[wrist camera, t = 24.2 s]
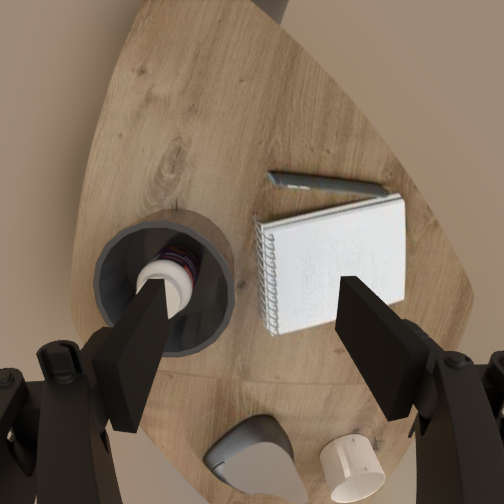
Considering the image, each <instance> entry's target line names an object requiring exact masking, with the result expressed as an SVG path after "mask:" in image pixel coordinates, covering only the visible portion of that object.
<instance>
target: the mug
mask: <svg viewBox="0 0 504 504" xmlns="http://www.w3.org/2000/svg"><path fill="white" fill-rule="evenodd" d="M320 461H321V465H322V468H323V471H324V475H325V478H326V482H327V485H328V488H329V492H330V495H331V498H332V500H333V501H335V502H339V503H348V502H354V501H358V500H361V499H363V498H366V497H368V496H370V495H371V494H373V493H375V492H376V491H377V490H379V489H380V488H381V487H382V485H383V484H384V483H385V480H386V477H385V474H384V472H383V470H382V468H381V466H380V464H379V461H378V459H377V457H376V455H375V453H374V451H373V449H372V447H371V444H370V442H369V440H368V439H367V438H366V437H365V436H363V435H360V434H349V435H345V436H341V437H339V438H336V439H334V440H333V441H331V442H330V443H328V444H327V445H326V446H325V447H324V448H323V450H322V452H321V454H320Z"/></svg>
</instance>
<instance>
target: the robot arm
mask: <svg viewBox="0 0 504 504" xmlns="http://www.w3.org/2000/svg"><path fill="white" fill-rule="evenodd" d="M335 331H336V332H337V334H338V336H339V337H340V339H341V341H342V342H343V344H344V346H345V347H346V349H347V351H348V353H349V354H350V356H351V358H352V359H353V361H354V363H355V365H356V366H357V368H358V370H359V371H360V373H361V375H362V377H363V378H364V380H365V382H366V383H367V385H368V387H369V389H370V390H371V392H372V394H373V396H374V397H375V399H376V401H377V403H378V404H379V406H380V408H381V410H382V412H383V413H384V415H385V417H386V419H387V420H388V422H389V421H393V420H398V419H402V418H406V417H408V415H409V413H410V410H411V408H412V405H413V404H414V406H415V407H416V409H417V410H418V413H417V415H416V418H415V420H414V423H413V425H412V427H411V430H410V432H409V435H408V438H411V437H412V434H413V432H414V431H415V436H416V437H415V438H416V463H417V493H416V494H417V495H416V504H504V415H503V414H502V410H503V408H504V351H497V352H494V353H493V354H492V355H491V358H490V361H489V363H488V364H485V365H474V363H473V361H472V360H471V358H469V357H468V356H466V355H465V354H462V353H459V352H455V351H444V350H443V349H442V348H441V347H440V346H439V345H438V344H437V343H436V342H435V341H434V340H433V339H431V338H430V337H429V336H428V335H427V334H426V333H425V332H423V330H422V329H421V328H420V327H419V326H418V325H417V324H415V323H413V322H411V321H409V320H407V319H403V320H402V319H401V318H400V317H399V316H398V315H397V314H396V313H395V312H393V311H392V310H391V309H390V308H389V307H388V306H387V305H386V304H385V303H384V302H383V301H382V300H381V299H380V298H379V297H378V296H377V295H376V294H375V293H374V292H373V291H372V290H371V289H370V288H368V287H367V286H366V285H365V284H364V283H363V282H362V281H361V280H360V279H359V278H358V277H357V276H341V280H340V291H339V300H338V309H337V317H336V326H335ZM169 334H170V330H169V321H168V311H167V301H166V291H165V279H147V281H146V282H145V283H144V285H143V286H142V288H141V289H140V290H139V292H138V293H137V294H136V296H135V297H134V299H133V300H132V301H131V303H130V304H129V306H128V307H127V308H126V310H125V311H124V313H123V314H122V315H121V317H120V318H119V320H118V321H117V323H116V324H115V326H114V327H102V328H101V329H99V330H97V331H96V332H94V333H93V334H92V336H91V337H90V338H89V340H88V342H86V344H85V345H84V348H82V349H81V350H79V347H78V345H77V344H76V343H75V342H72V341H68V340H58V341H54V342H50V343H48V344H46V345H44V346H42V347H41V348H40V349H39V350H38V352H37V353H36V355H37V358H38V360H39V364H40V366H41V370H42V372H43V375H44V377H45V380H44V381H32V382H25V380H24V377H23V375H22V372H20V371H19V370H18V369H15V368H3V369H0V504H34V502H35V498H36V494H37V504H123V503H122V499H121V495H120V491H119V486H118V482H117V478H116V474H115V469H114V464H113V459H112V453H111V448H110V442H109V437H108V434H107V432H106V429H105V427H106V424H107V422H108V420H109V419H110V422H111V424H112V427H113V430H114V431H121V432H129V433H136V432H137V430H138V426H139V423H140V420H141V417H142V414H143V411H144V408H145V405H146V401H147V398H148V395H149V392H150V389H151V386H152V383H153V380H154V377H155V375H156V372H157V369H158V366H159V363H160V360H161V357H162V354H163V351H164V349H165V346H166V343H167V340H168V337H169ZM9 431H10V432H11V434H12V435H11V437H10V439H9V440H8V439H7V436H8V433H9Z"/></svg>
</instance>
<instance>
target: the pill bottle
mask: <svg viewBox="0 0 504 504" xmlns="http://www.w3.org/2000/svg"><path fill="white" fill-rule="evenodd" d="M198 274H199V265H198V261H197V259H196V257H195V256H194V255H193V253H192V252H191V251H189V250H188V249H186V248H184V247H182V246H177V245H172V246H168V247H165V248H163V249H162V250H160V251H159V252H158V253H157V254H156V255H155V256H154V257H153V258H152V259H151V260H150V261H149V263H148V264H147V265H146V266H145V267H144V268H143V269H142V271H141V272H140V274H139V276H138V279H137V292H136V294H137V293H138V292H139V290H140V289H141V288H142V286H143V285H144V283H145V282H146V281H147V279H165V291H166V301H167V311H168V319H170V318H172V317H173V316H174V315H175V314H176V313H177V312H179V311H181V310H182V309H184V308H185V307H186V305H187V304H188V302H189V301H190V298H191V296H192V292H193V289H194V286H195V284H196V281H197V278H198Z"/></svg>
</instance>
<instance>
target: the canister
mask: <svg viewBox="0 0 504 504" xmlns="http://www.w3.org/2000/svg"><path fill="white" fill-rule="evenodd" d="M172 245H177V246H182V247H184V248H186V249H188V250H189V251H191V252H192V253H193V255H194V256H195V257H196V259H197V261H198V265H199V274H198V278H197V281H196V284H195V286H194V289H193V292H192V296H191V298H190V301H189V302H188V304H187V305H186V307H185V308H184V309H182V310H181V311H179V312H177V313H176V314H175V315H174V316H173V317H172V318H170V319H168V321H169V330H170V334H169V337H168V340H167V343H166V346H165V349H164V351H163V354H162V357H176V358H179V357H183V356H187V355H190V354H194V353H198V352H200V351H202V350H203V349H205V348H206V347H208V346H209V345H211V344H212V343H214V342H215V341H216V340H217V339H218V338H219V336H220V335H221V334H222V332H223V331H224V330H225V328H226V327H227V326H228V324H229V321H230V318H231V315H232V312H233V309H234V306H235V290H234V257H233V254H232V250H231V248H230V245H229V243H228V240H227V239H226V237H225V236H224V234H223V233H222V231H221V230H220V229H219V228H218V227H217V226H216V225H215V224H214V223H213V222H211V221H210V220H209V219H207V218H206V217H204V216H202V215H200V214H198V213H196V212H192V211H189V210H183V209H168V210H161V211H159V212H156V213H154V214H151V215H149V216H146V217H144V218H143V219H141V220H139V221H137V222H135V223H133V224H132V225H130V226H128V227H126V228H124V229H123V230H121V231H120V232H119V233H118V234H117V235H116V236H114V237H113V238H112V239H111V240H110V241H109V242H108V243H107V244H106V245H105V247H104V249H103V251H102V253H101V254H100V256H99V258H98V260H97V262H96V267H95V274H94V281H93V287H94V293H95V298H96V304H97V306H98V308H99V310H100V312H101V314H102V316H103V318H104V320H105V322H106V324H107V325H108V326H109V327H114V326H115V324H116V323H117V321H118V320H119V318H120V317H121V315H122V314H123V313H124V311H125V310H126V308H127V307H128V306H129V304H130V303H131V301H132V300H133V299H134V297H135V296H136V292H137V279H138V276H139V274H140V272H141V271H142V269H143V268H144V267H145V266H146V265H147V264H148V263H149V261H150V260H151V259H152V258H153V257H154V256H155V255H156V254H157V253H158V252H159V251H160V250H162V249H163V248H165V247H168V246H172Z"/></svg>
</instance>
